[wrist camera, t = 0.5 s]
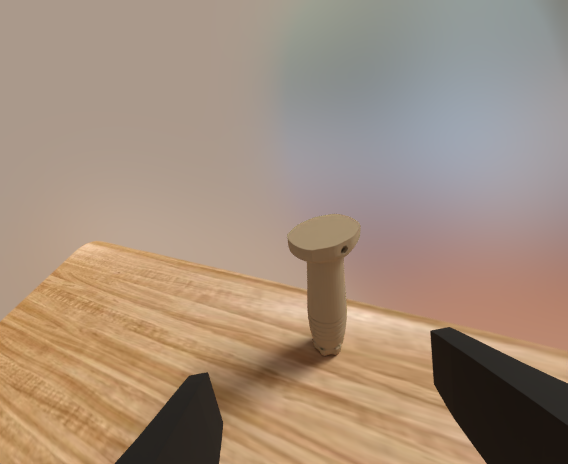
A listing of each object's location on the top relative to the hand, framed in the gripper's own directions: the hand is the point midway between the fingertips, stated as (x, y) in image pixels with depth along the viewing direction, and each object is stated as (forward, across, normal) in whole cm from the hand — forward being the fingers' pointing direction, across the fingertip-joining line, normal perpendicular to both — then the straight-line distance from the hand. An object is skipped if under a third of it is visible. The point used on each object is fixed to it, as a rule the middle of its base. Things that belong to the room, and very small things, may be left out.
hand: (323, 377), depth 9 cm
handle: (+20, -2, +14) cm, 24 cm away
